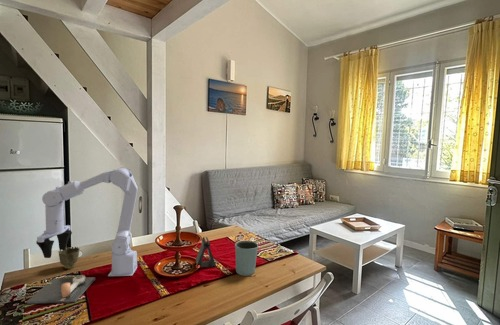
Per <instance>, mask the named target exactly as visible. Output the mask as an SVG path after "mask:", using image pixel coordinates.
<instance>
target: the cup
mask: <svg viewBox="0 0 500 325" xmlns="http://www.w3.org/2000/svg"><path fill="white" fill-rule="evenodd" d="M57 252H58V258H59V262H60V264H61V265H62V266H63V268H64V269H65V270H71V269H73V268H74V267H75V264H76V263H77V262H78V259H79V255H80V247H78V246H72V247H70V246H66V249H65V250H60V249H59V251H57Z"/></svg>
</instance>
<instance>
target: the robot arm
mask: <svg viewBox="0 0 500 325" xmlns="http://www.w3.org/2000/svg"><path fill="white" fill-rule="evenodd" d="M102 183H106V184H112V185H114V186H116V187H118V188H119V189H120V190H122V192H123V193H124V195H123V196H124V197H123V202H122V205H121V212H120V215H119V216H120V217H119V222H118V227H117V231H116V234H115V238H114V241H113V242H112V243H111V246H110V250H111V270H110V272H109V273H108V275H107V277H126V276H127V277H129V276H130V277H131V276H132V277H133V275H134V273H136V271H137V268H138V251H137V250H132V249H131V246H130V245H131V242H132V236H131V231H132V230H131V227H132V223H133V216H134V213H135V206H136V201H137V196H138V190H139V187H138V185H137V183H136V180H135V178H134V175H133V173H132V172H131V171H130V170H129V169H128V168H126V167H119V168H117V169H112V170H107V171H105V172H104V171H103V172H102V173H100V174H97V175H95V176H92V177H90V178H88V179H86V180H83V181H78V180H74V181H73V180H69V181H68V182H67V183H66V184H64V185H61V186H56V187H55V188H54V189H52V190H49V191H47V192H45V193H44V194H43V196H42V198H41V200H42V202H43V204H44V206H45V211H44V212H45V230H44V231H43V233H42V234H41V235H39V236H37V237H36V245H37V246H38V247H39V248H40V250H41V252H42V255H43V257H44V258H45V259H50V258H51V257H52V251H53V246H54V244H55V243H54V242H55V240H52V238H53V237H57V241H58V242H57V243H58V248H59V251H60V250H61V251H63V250H65V249H66V248H67V247H68V246H67V245H68V241H69V240H70V237H71V236H72V234H73V231H71V228H72V227H71V226H72V225H69V224H67V225H66V224H65V221H64V220H65V219H64V216H65V215H64V214H65V213H64V201H68V200H70V199H73V198H75V197H78V196H80V195H83V193H84V191H85V189H88V188H91V187H94V186H97V185H99V184H102ZM64 224H65V225H64Z"/></svg>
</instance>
